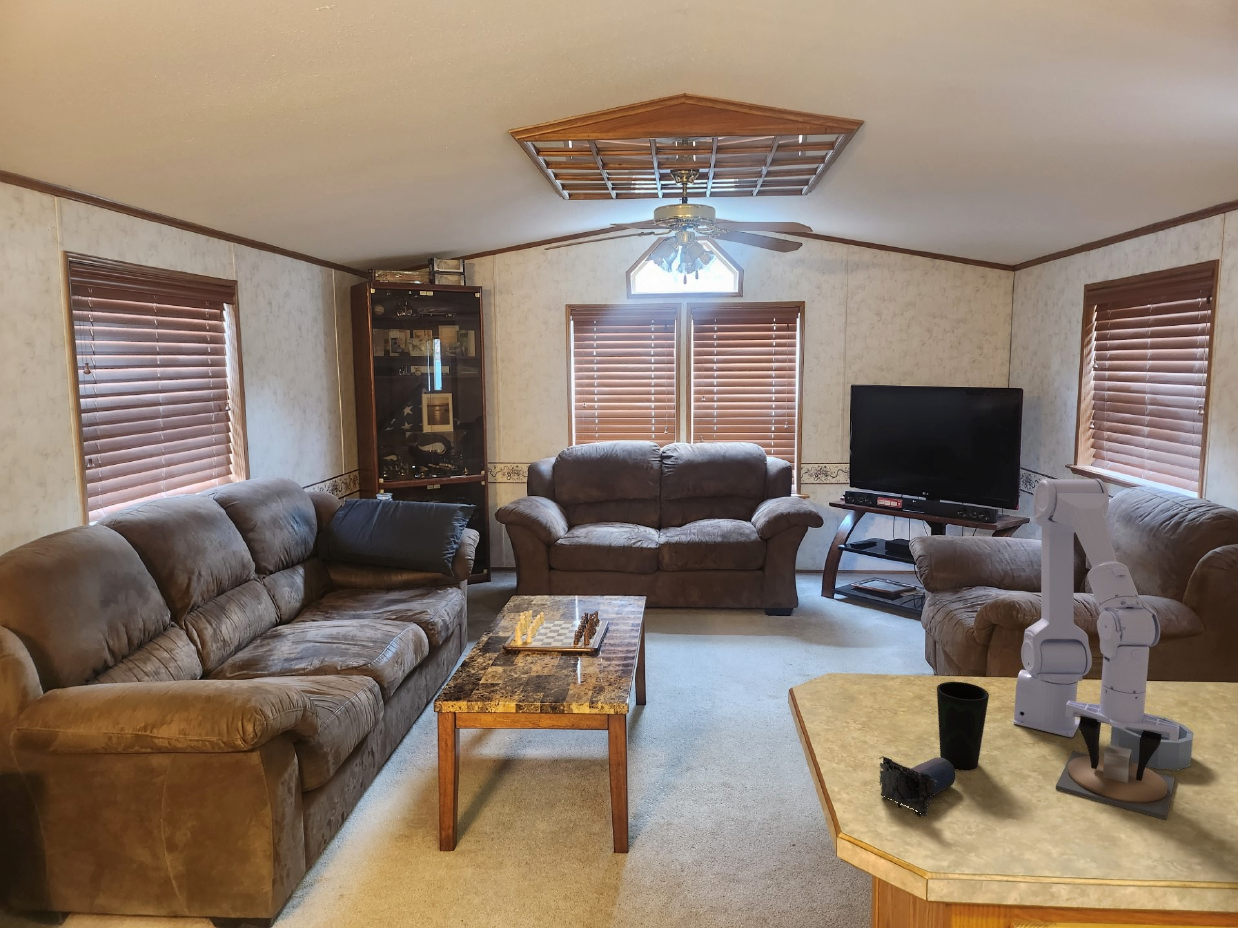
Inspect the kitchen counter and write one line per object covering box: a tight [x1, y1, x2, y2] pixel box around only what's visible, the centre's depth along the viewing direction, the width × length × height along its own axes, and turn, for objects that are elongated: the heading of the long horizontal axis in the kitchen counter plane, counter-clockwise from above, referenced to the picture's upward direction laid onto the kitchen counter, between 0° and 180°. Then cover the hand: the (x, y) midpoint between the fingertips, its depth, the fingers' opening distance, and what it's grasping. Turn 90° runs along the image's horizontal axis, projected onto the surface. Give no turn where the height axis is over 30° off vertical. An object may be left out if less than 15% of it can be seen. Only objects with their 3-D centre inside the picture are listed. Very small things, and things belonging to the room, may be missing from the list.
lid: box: [1068, 743, 1167, 803], centre depth 127 cm, size 13×13×5 cm
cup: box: [936, 681, 990, 772], centre depth 134 cm, size 8×8×12 cm
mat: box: [1055, 750, 1176, 821], centre depth 128 cm, size 14×14×1 cm
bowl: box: [1109, 712, 1194, 771], centre depth 137 cm, size 11×11×4 cm
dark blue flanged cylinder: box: [878, 755, 957, 818], centre depth 125 cm, size 9×8×12 cm
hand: (1116, 771), depth 127 cm, fingers open, 5 cm apart
